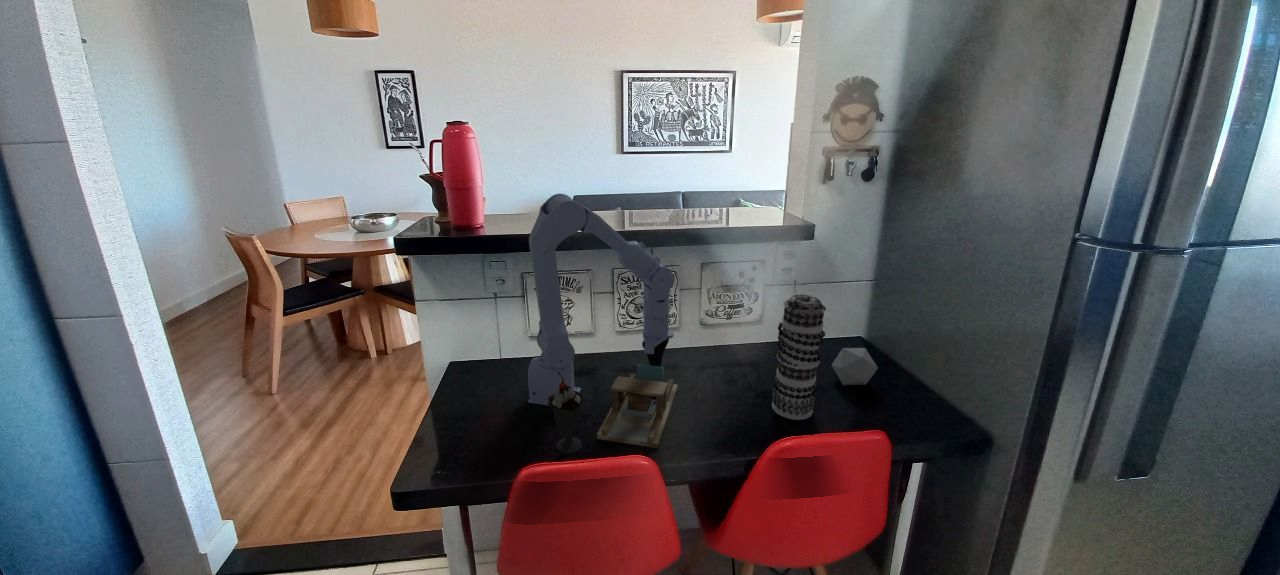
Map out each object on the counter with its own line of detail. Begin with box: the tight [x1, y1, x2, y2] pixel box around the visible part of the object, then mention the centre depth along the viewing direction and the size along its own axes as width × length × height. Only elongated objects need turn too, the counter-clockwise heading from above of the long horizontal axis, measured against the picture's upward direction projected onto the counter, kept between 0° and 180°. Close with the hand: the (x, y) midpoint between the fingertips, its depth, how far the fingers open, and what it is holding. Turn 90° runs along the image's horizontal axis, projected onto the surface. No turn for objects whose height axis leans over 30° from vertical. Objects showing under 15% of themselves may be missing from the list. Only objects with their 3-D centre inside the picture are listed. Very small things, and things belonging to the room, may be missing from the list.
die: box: [831, 347, 879, 386], centre depth 116 cm, size 8×9×10 cm
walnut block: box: [628, 393, 651, 412], centre depth 104 cm, size 4×4×4 cm
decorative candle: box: [771, 294, 827, 421], centre depth 103 cm, size 9×9×25 cm
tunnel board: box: [596, 373, 679, 449], centre depth 105 cm, size 12×22×7 cm, turn 166°
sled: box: [621, 363, 665, 419], centre depth 108 cm, size 6×14×5 cm, turn 166°
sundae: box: [547, 372, 586, 455], centre depth 92 cm, size 7×7×15 cm
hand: (655, 367), depth 118 cm, fingers closed
